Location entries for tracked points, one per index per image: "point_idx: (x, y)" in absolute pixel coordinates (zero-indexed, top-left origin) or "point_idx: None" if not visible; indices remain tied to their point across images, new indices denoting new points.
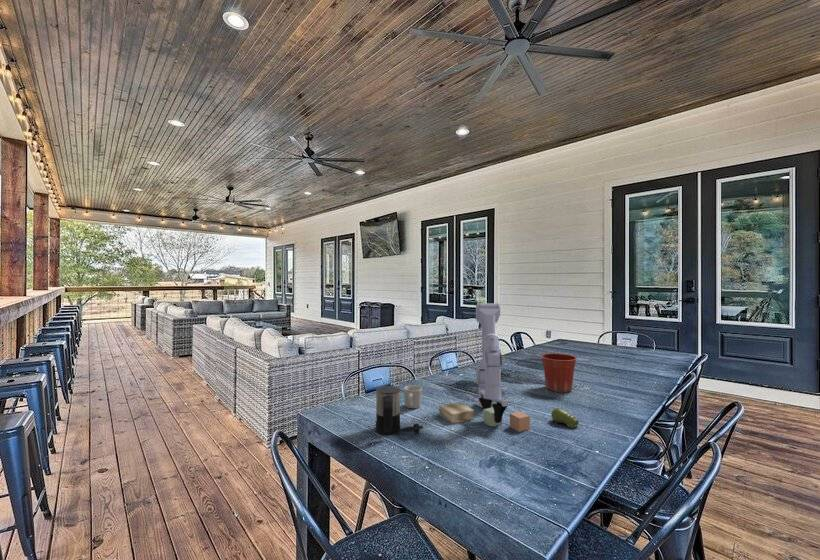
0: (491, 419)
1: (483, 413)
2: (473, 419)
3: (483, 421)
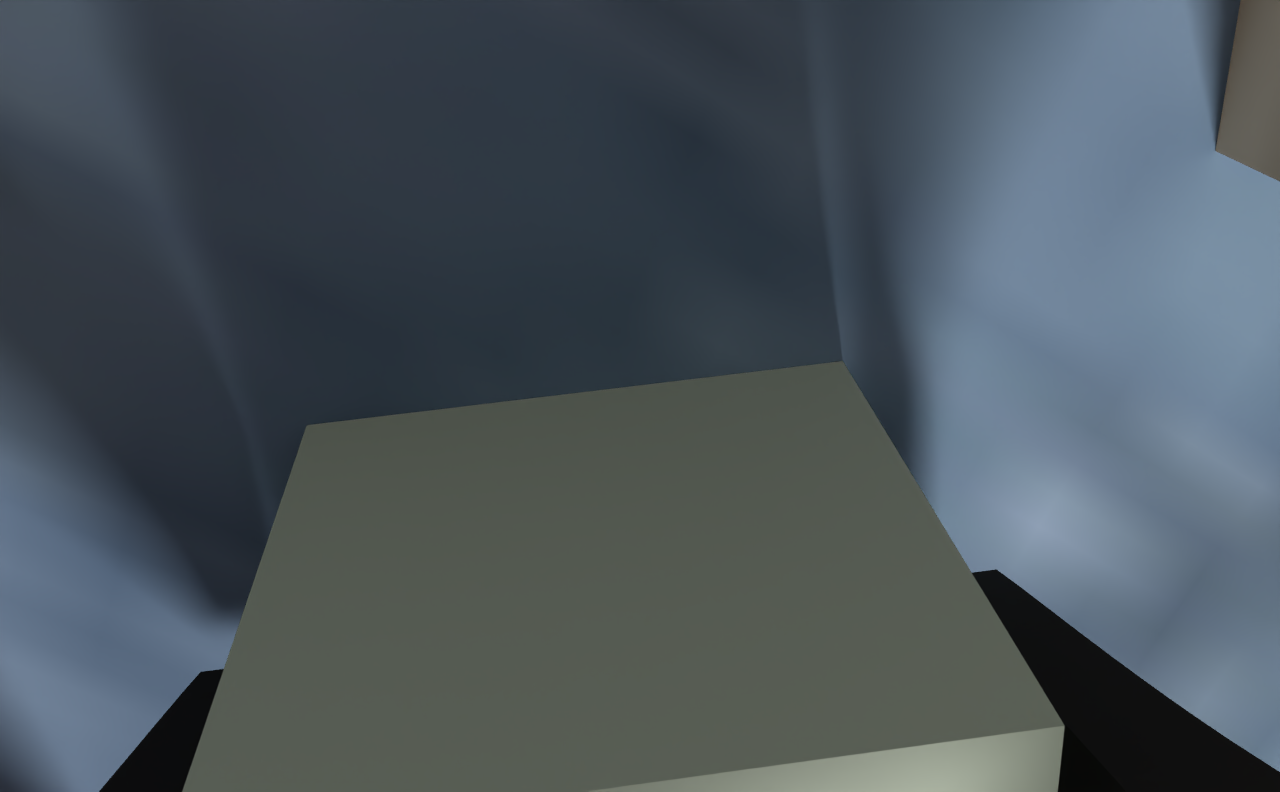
0: (259, 599)
1: (938, 565)
2: (1229, 105)
3: (834, 377)
